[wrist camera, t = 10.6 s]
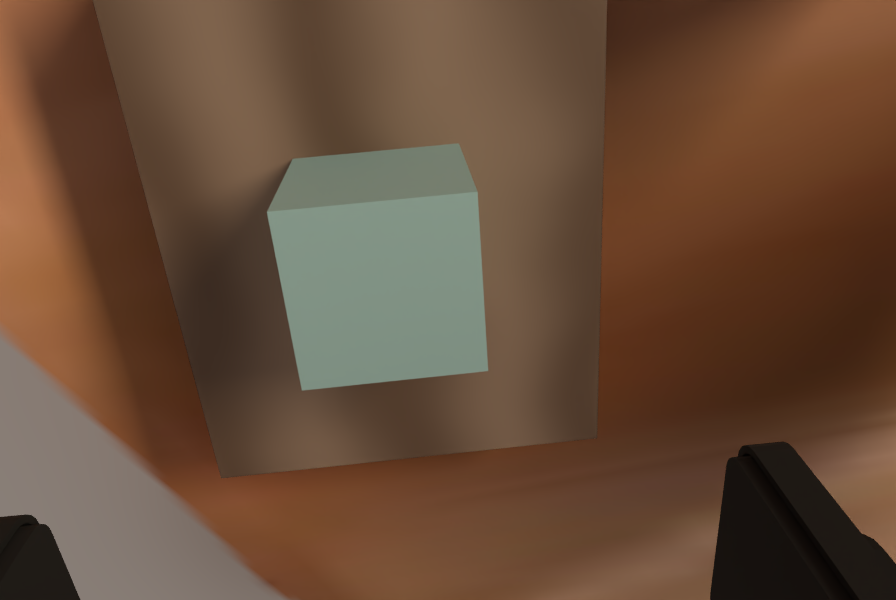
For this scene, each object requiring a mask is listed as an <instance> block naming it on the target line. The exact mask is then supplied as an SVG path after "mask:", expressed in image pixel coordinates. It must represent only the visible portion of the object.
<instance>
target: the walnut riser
mask: <svg viewBox="0 0 896 600" xmlns="http://www.w3.org/2000/svg"><path fill="white" fill-rule="evenodd" d="M93 4H94V7H95V11H96V15H97V19H98V22H99V26H100V30H101V33H102V37H103V41H104V45H105V48H106V52H107V56H108V59H109V63H110V67H111V71H112V74H113V78H114V82H115V85H116V89H117V93H118V97H119V100H120V104H121V108H122V111H123V115H124V119H125V123H126V126H127V130H128V134H129V137H130V141H131V145H132V149H133V152H134V156H135V160H136V163H137V167H138V171H139V175H140V178H141V182H142V186H143V189H144V193H145V197H146V201H147V204H148V208H149V212H150V215H151V219H152V223H153V227H154V230H155V234H156V238H157V241H158V245H159V249H160V253H161V256H162V260H163V264H164V267H165V271H166V275H167V279H168V282H169V286H170V290H171V294H172V297H173V301H174V305H175V308H176V312H177V316H178V320H179V323H180V327H181V331H182V334H183V338H184V342H185V346H186V349H187V353H188V357H189V360H190V364H191V368H192V372H193V375H194V379H195V383H196V386H197V390H198V394H199V398H200V401H201V405H202V409H203V412H204V416H205V420H206V424H207V427H208V431H209V435H210V438H211V442H212V446H213V450H214V453H215V457H216V461H217V464H218V468H219V472H220V476H221V478H228V477H237V476H247V475H256V474H265V473H275V472H284V471H294V470H303V469H312V468H322V467H331V466H341V465H350V464H359V463H369V462H378V461H387V460H397V459H406V458H416V457H425V456H434V455H444V454H453V453H463V452H472V451H481V450H491V449H500V448H509V447H519V446H528V445H538V444H547V443H556V442H566V441H575V440H585V439H594V438H597V419H598V377H599V334H600V291H601V248H602V206H603V163H604V120H605V77H606V34H607V0H93ZM457 143H459V145H460V148H461V150H462V153H463V155H464V158H465V160H466V163H467V166H468V168H469V171H470V173H471V176H472V179H473V181H474V184H475V186H476V189H477V192H478V207H479V224H480V241H481V258H482V275H483V292H484V309H485V325H486V342H487V359H488V371H484V372H474V373H465V374H455V375H446V376H436V377H426V378H417V379H407V380H398V381H388V382H379V383H369V384H360V385H350V386H341V387H331V388H321V389H312V390H302V388H301V383H300V378H299V373H298V368H297V363H296V358H295V353H294V348H293V343H292V338H291V332H290V327H289V322H288V317H287V312H286V307H285V302H284V297H283V292H282V287H281V281H280V276H279V271H278V266H277V261H276V256H275V251H274V246H273V241H272V236H271V230H270V225H269V220H268V215H267V211H268V209H269V207H270V204H271V202H272V200H273V198H274V196H275V194H276V192H277V190H278V188H279V186H280V184H281V182H282V180H283V178H284V176H285V174H286V172H287V170H288V168H289V166H290V164H291V161H292V159H296V158H307V157H318V156H329V155H339V154H350V153H361V152H371V151H382V150H393V149H404V148H414V147H425V146H436V145H446V144H457Z"/></svg>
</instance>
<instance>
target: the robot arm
mask: <svg viewBox="0 0 896 600" xmlns="http://www.w3.org/2000/svg"><path fill="white" fill-rule="evenodd" d="M0 600H80V598H79V596H78V593H77V591H76V589H75V586H74V584H73V581H72V579H71V577H70V574H69V572H68V570H67V567H66V565H65V563H64V560H63V558H62V555H61V553H60V551H59V548H58V546H57V544H56V541H55V539H54V536H53V534H52V532H51V530H50V528H49V527H48V526H47V525H45V524H39V523H38V521H37V519H36V518H34V517H33V516H32V515H18V516H7V517H0ZM710 600H896V564H895V562H894V561H893V560H892V559H891V558H890V556H889V555H888V554H887V553H886V551H885V550H884V549H883V548H882V547H881V546H880V545H879V544H878V543H877V542H876V541H875V540H874V539H872V538H870V537H868V536H866V535H864V534H861V532H860V531H859V530H858V529H857V527H856V526H855V525H854V524H853V522H852V521H851V520H850V519H849V517H848V516H847V515H846V514H845V512H844V511H843V510H842V509H841V507H840V506H839V505H838V504H837V502H836V501H835V500H834V499H833V497H832V496H831V495H830V494H829V492H828V491H827V490H826V489H825V487H824V486H823V485H822V484H821V482H820V481H819V480H818V479H817V477H816V476H815V475H814V474H813V472H812V471H811V470H810V468H809V467H808V466H807V465H806V463H805V462H804V461H803V460H802V458H801V457H800V456H799V455H798V453H797V452H796V451H795V450H794V448H793V447H792V446H790V445H789V444H788V443H786V442H775V443H765V444H754V445H745V446H742V447H741V449H740V450H739V453H738V457H732V458H729V460H728V462H727V466H726V474H725V482H724V490H723V498H722V506H721V514H720V522H719V529H718V537H717V545H716V553H715V561H714V569H713V577H712V585H711V593H710Z"/></svg>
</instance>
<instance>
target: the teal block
mask: <svg viewBox="0 0 896 600" xmlns="http://www.w3.org/2000/svg"><path fill="white" fill-rule="evenodd" d="M267 215H268V220H269V225H270V230H271V236H272V241H273V246H274V251H275V256H276V261H277V266H278V271H279V276H280V281H281V287H282V292H283V297H284V302H285V307H286V312H287V317H288V322H289V327H290V332H291V338H292V343H293V348H294V353H295V358H296V363H297V368H298V373H299V378H300V383H301V388H302V390H312V389H321V388H331V387H341V386H350V385H360V384H369V383H379V382H388V381H398V380H407V379H417V378H426V377H436V376H446V375H455V374H465V373H474V372H484V371H488V359H487V342H486V325H485V309H484V292H483V275H482V258H481V241H480V224H479V207H478V192H477V189H476V186H475V184H474V181H473V179H472V176H471V173H470V171H469V168H468V166H467V163H466V160H465V158H464V155H463V153H462V150H461V148H460V145H459V143H457V144H446V145H436V146H425V147H414V148H404V149H393V150H382V151H371V152H361V153H350V154H339V155H329V156H318V157H307V158H296V159H292V161H291V164H290V166H289V168H288V170H287V172H286V174H285V176H284V178H283V180H282V182H281V184H280V186H279V188H278V190H277V192H276V194H275V196H274V198H273V200H272V202H271V204H270V207H269V209H268V211H267Z"/></svg>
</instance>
